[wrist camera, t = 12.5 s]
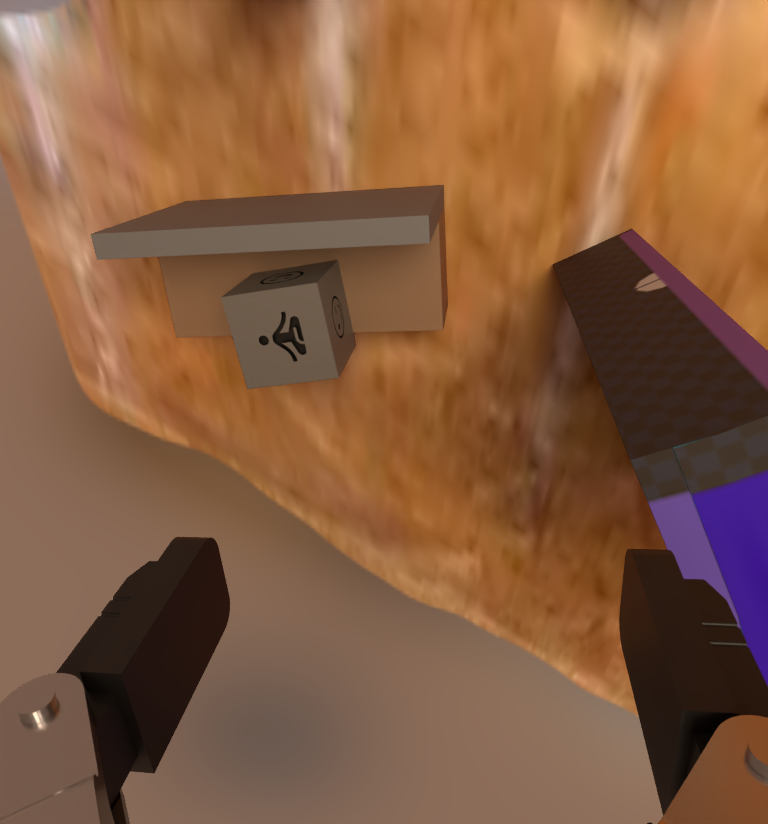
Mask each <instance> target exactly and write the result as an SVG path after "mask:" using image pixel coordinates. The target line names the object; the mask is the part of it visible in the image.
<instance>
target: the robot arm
mask: <svg viewBox="0 0 768 824" xmlns="http://www.w3.org/2000/svg"><path fill="white" fill-rule="evenodd" d="M229 612H230V598H229V593H228V588H227V584H226V579H225V575H224V571H223V566H222V562H221V557H220V553H219V548H218V545H217V542H216V541H215V540H214V539H213V538H199V537H176V538H175V539H173V540H172V542H171V543H170V544H169V546H168V547H167V548H166V550H165V551H164V553H163V554H162V556H161V557H160V558H159V560H158V561H149V562H148V563H146V564H145V565H144V566H142V567H141V568H140V569H138V570H137V571H136V572H134V573H133V574H132V575H130V576H129V577H128V578H127V579H126V580H125V582H124V583H123V584H122V586H121V587H120V588H119V590H118V591H117V592H116V594H115V595H114V596H113V601H110V602H109V603H108V604H107V606H106V607H105V608H104V610H103V611H102V615H101V616H99V617H98V618H97V619H96V620H95V622H94V623H93V624H92V626H91V627H90V628H89V630H88V631H87V633H86V634H85V635H84V636H83V638H82V639H81V640H80V642H79V643H78V644H77V646H76V647H75V648H74V650H73V651H72V652H71V654H70V655H69V656H68V658H67V659H66V660H65V662H64V663H63V664H62V666H61V667H60V668H59V670H58V671H57V672H56V673H55V674H48V675H44V676H41V677H38V678H35V679H33V680H31V681H29V682H27V683H25V684H23V685H22V686H20V687H18V688H17V689H16V690H14V691H13V692H12V693H10V694H9V695H8V696H7V697H6V698H5V699H4V700H3V701H2V702H1V704H0V824H130V822H129V817H128V812H127V807H126V803H125V798H124V795H123V792H122V789H121V787H122V785H123V783H124V782H125V780H126V777H127V776H128V774H129V772H130V771H134V772H145V773H155V771H156V768H157V767H158V765H159V762H160V761H161V758H162V756H163V754H164V752H165V750H166V748H167V746H168V744H169V742H170V740H171V738H172V736H173V734H174V732H175V730H176V728H177V726H178V724H179V722H180V720H181V718H182V716H183V714H184V712H185V710H186V708H187V706H188V704H189V702H190V700H191V698H192V695H193V693H194V691H195V689H196V687H197V685H198V683H199V681H200V679H201V677H202V675H203V673H204V671H205V669H206V667H207V665H208V663H209V661H210V659H211V657H212V654H213V653H214V651H215V648H216V647H217V645H218V643H219V640H220V638H221V637H222V635H223V632H224V630H225V628H226V625H227V622H228V618H229ZM619 624H620V638H621V645H622V650H623V654H624V658H625V662H626V666H627V670H628V674H629V678H630V682H631V686H632V690H633V694H634V698H635V702H636V707H637V711H638V715H639V719H640V723H641V727H642V731H643V735H644V739H645V743H646V747H647V751H648V755H649V759H650V763H651V767H652V771H653V775H654V780H655V784H656V787H657V792H658V796H659V799H660V804H661V808H662V812H663V817H662V819H661V820H660V821H659V823H658V824H768V686H767V684H766V682H765V680H764V677H763V675H762V673H761V671H760V669H759V667H758V665H757V663H756V661H755V659H754V657H753V654H752V652H751V650H750V648H747V642H746V640H745V638H744V636H743V634H742V631H741V629H740V628H738V625H737V624H738V623H737V621H736V619H735V617H734V615H733V613H732V611H731V608H730V606H729V604H728V602H727V600H726V599H725V598H724V597H723V596H722V595H721V594H719V593H718V592H717V591H716V590H715V589H714V588H713V587H712V586H711V585H710V584H709V583H708V582H707V581H705V580H704V579H684V578H683V576H682V573H681V571H680V568H679V566H678V563H677V561H676V559H675V556H674V554H673V552H672V551H671V550H650V549H628V550H627V552H626V556H625V565H624V575H623V585H622V595H621V605H620V618H619ZM647 824H652V823H647Z"/></svg>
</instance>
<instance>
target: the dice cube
mask: <svg viewBox="0 0 768 824" xmlns="http://www.w3.org/2000/svg"><path fill="white" fill-rule="evenodd" d="M221 300H222V303H223V306H224V310H225V313H226V317H227V320H228V323H229V327H230V330H231V334H232V337H233V341H234V344H235V347H236V351H237V354H238V358H239V361H240V365H241V368H242V371H243V375H244V378H245V382H246V385H247V389H253V388H262V387H270V386H278V385H286V384H294V383H303V382H311V381H319V380H327V379H336V378H339V377H340V375H341V373H342V371H343V369H344V367H345V365H346V363H347V361H348V360H349V358H350V356H351V354H352V352H353V350H354V348H355V346H356V342H355V337H354V333H353V328H352V323H351V319H350V314H349V309H348V304H347V300H346V295H345V290H344V286H343V281H342V276H341V272H340V267H339V262H338V260H332V261H326V262H320V263H314V264H307V265H301V266H295V267H289V268H282V269H276V270H270V271H264V272H257V273H253V274H251V275H250V276H249V277H247V278H246V279H245V280H243V281H242V282H241V283H239V284H238V285H237V286H235V287H234V288H233V289H231V290H230V291H229V292H227V293H226V294H225V295H223V296H222V297H221Z"/></svg>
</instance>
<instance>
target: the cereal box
mask: <svg viewBox="0 0 768 824" xmlns="http://www.w3.org/2000/svg"><path fill="white" fill-rule="evenodd" d="M553 266H554V269H555V271H556V274H557V276H558V279H559V281H560V284H561V287H562V289H563V292H564V294H565V297H566V299H567V302H568V304H569V307H570V309H571V312H572V314H573V317H574V319H575V322H576V324H577V327H578V329H579V332H580V334H581V337H582V339H583V342H584V344H585V347H586V350H587V352H588V355H589V357H590V360H591V362H592V365H593V367H594V370H595V372H596V375H597V377H598V380H599V382H600V385H601V387H602V390H603V392H604V395H605V397H606V400H607V402H608V405H609V407H610V410H611V412H612V415H613V418H614V420H615V423H616V425H617V428H618V430H619V433H620V435H621V438H622V440H623V443H624V445H625V448H626V450H627V453H628V455H629V458H630V460H631V463H632V465H633V468H634V470H635V472H636V475H637V477H638V480H639V482H640V484H641V487H642V489H643V491H644V494H645V496H646V499H647V501H648V503H649V506H650V508H651V511H652V513H653V515H654V518H655V520H656V523H657V525H658V527H659V530H660V532H661V535H662V537H663V539H664V542H665V544H666V547H667V549H668V550H671V551H672V552H673V554H674V556H675V559H676V561H677V563H678V566H679V568H680V571H681V573H682V576H683V578H684V579H704V580H705V581H707V582H708V583H709V584H710V585H711V586H712V587H713V588H714V589H715V590H716V591H717V592H718V593H719V594H721V595H722V596H723V597H724V598H725V599H726V600H727V602H728V604H729V606H730V608H731V611H732V613H733V615H734V617H735V619H736V621H737V623H738V624H737V625H738V628H740V629H741V631H742V634H743V636H744V638H745V640H746V642H747V648H750V650H751V652H752V654H753V657H754V659H755V661H756V663H757V665H758V667H759V669H760V671H761V673H762V675H763V677H764V680H765V682H766V684H767V686H768V351H767V350H766V349H765V348H764V347H763V346H762V345H761V344H760V343H758V342H757V341H756V340H755V339H754V338H753V337H752V336H751V335H750V334H748V333H747V332H746V331H745V330H744V329H743V328H742V327H741V326H740V325H738V324H737V323H736V322H735V321H734V320H733V319H732V318H731V317H730V316H728V315H727V314H726V313H725V312H724V311H723V310H722V309H721V308H720V307H718V306H717V305H716V304H715V303H714V302H713V301H712V300H711V299H710V298H708V297H707V296H706V295H705V294H704V293H703V292H702V291H701V290H699V289H698V288H697V287H696V286H695V285H694V284H693V283H692V282H691V281H689V280H688V279H687V278H686V277H685V276H684V275H683V274H682V273H681V272H679V271H678V270H677V269H676V268H675V267H674V266H673V265H672V264H671V263H669V262H668V261H667V260H666V259H665V258H664V257H663V256H662V255H661V254H659V253H658V252H657V251H656V250H655V249H654V248H653V247H652V246H651V245H649V244H648V243H647V242H646V241H645V240H644V239H643V238H642V237H641V236H639V235H638V234H637V233H636V232H635V231H634V230H633V229H630V230H628V231H626V232H623V233H621V234H619V235H617V236H615V237H612V238H610V239H608V240H606V241H604V242H601V243H599V244H597V245H595V246H592V247H590V248H588V249H586V250H584V251H581V252H579V253H577V254H575V255H573V256H570V257H568V258H566V259H564V260H562V261H559V262H557V263H555V264H553Z"/></svg>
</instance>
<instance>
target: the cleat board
mask: <svg viewBox="0 0 768 824" xmlns="http://www.w3.org/2000/svg"><path fill="white" fill-rule="evenodd" d="M91 237H92V241H93V245H94V249H95V253H96V257H97V260H99V259H120V258H140V257H159V261H160V266H161V270H162V275H163V279H164V284H165V288H166V293H167V297H168V302H169V307H170V311H171V316H172V320H173V325H174V329H175V334H176V338H179V337H215V336H232V334H231V330H230V327H229V323H228V320H227V317H226V313H225V310H224V306H223V303H222V300H221V297H222V296H223V295H225V294H226V293H227V292H229V291H230V290H231V289H233V288H234V287H235V286H237V285H238V284H239V283H241V282H242V281H243V280H245V279H246V278H247V277H249V276H250V275H251V274H253V273H257V272H264V271H270V270H276V269H282V268H289V267H295V266H301V265H307V264H314V263H320V262H326V261H332V260H338V262H339V267H340V272H341V276H342V281H343V286H344V290H345V295H346V300H347V304H348V309H349V314H350V319H351V323H352V328H353V333H359V332H395V331H430V330H443V327H444V322H445V317H446V311H447V306H448V300H447V271H446V243H445V214H444V185H437V186H421V187H405V188H389V189H374V190H358V191H342V192H326V193H310V194H294V195H278V196H262V197H246V198H231V199H215V200H199V201H186V202H183V203H180V204H177V205H174V206H171V207H168V208H165V209H162V210H159V211H156V212H154V213H151V214H148V215H145V216H142V217H139V218H136V219H133V220H130V221H127V222H125V223H122V224H119V225H116V226H113V227H110V228H107V229H104V230H101V231H98V232H95V233H93V234H91Z"/></svg>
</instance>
